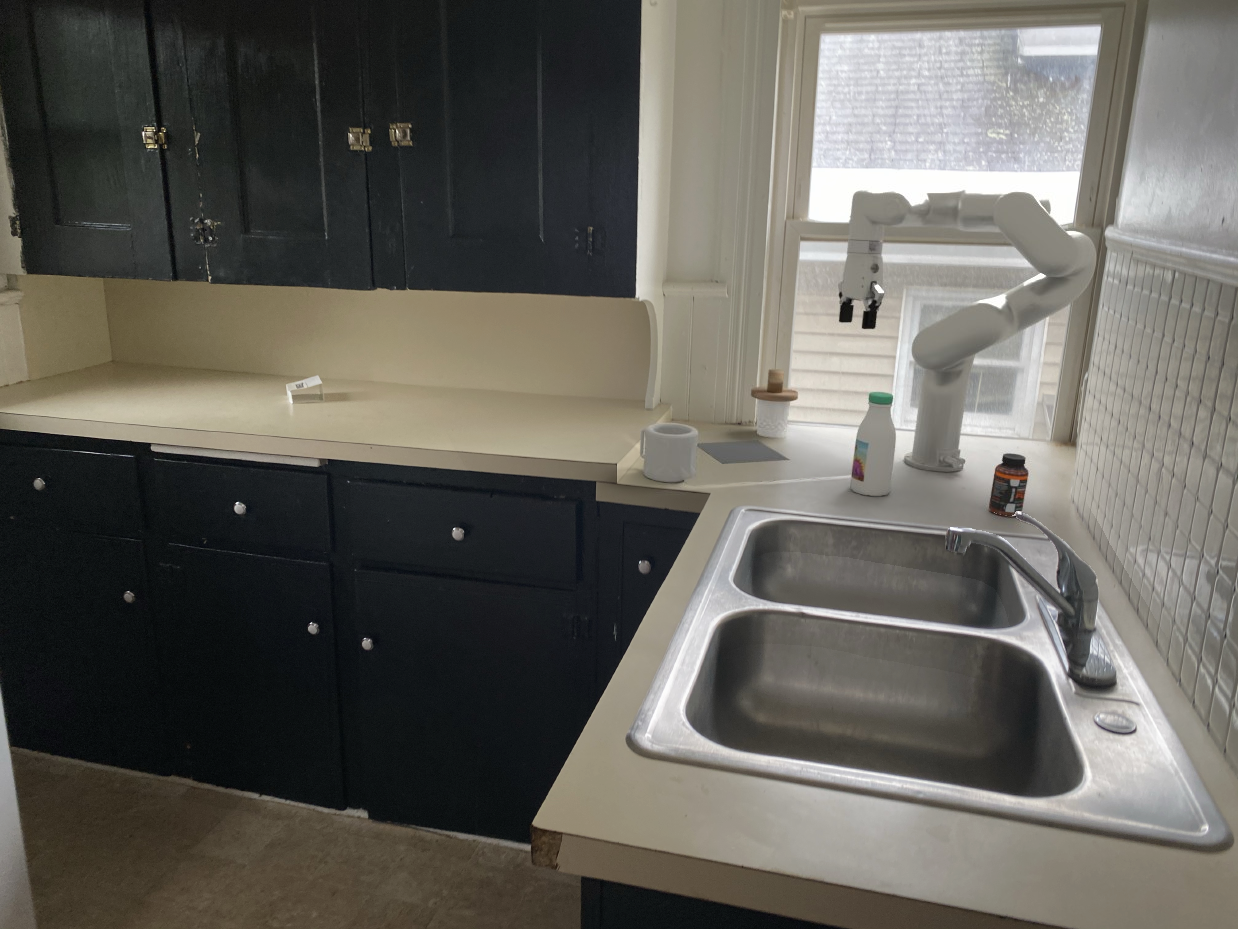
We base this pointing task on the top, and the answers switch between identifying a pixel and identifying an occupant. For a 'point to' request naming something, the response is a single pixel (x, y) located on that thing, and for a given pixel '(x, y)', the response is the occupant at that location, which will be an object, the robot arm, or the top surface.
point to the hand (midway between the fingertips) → (856, 325)
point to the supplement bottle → (1009, 485)
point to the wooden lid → (774, 389)
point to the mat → (741, 452)
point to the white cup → (772, 418)
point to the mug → (669, 452)
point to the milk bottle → (874, 448)
